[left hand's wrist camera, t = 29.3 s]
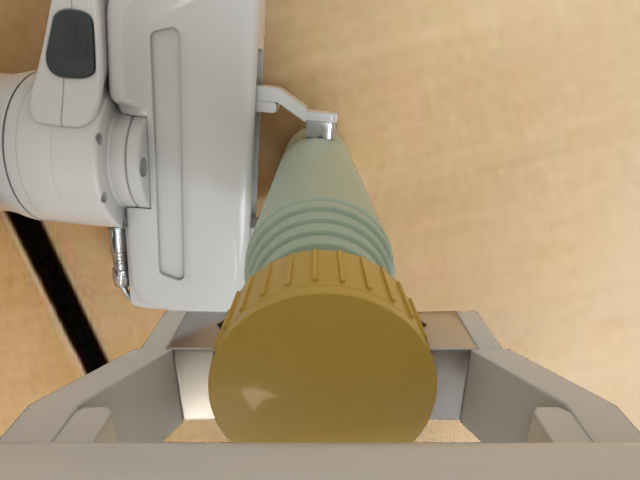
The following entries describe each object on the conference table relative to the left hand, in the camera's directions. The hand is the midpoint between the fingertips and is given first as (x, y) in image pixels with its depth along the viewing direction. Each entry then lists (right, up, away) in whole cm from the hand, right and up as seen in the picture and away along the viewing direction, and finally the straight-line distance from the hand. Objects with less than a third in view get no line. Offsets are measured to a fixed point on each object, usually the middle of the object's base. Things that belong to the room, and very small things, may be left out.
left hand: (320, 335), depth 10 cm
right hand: (+1, +6, +16) cm, 17 cm away
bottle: (0, +8, +21) cm, 23 cm away
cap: (0, -1, -2) cm, 2 cm away
